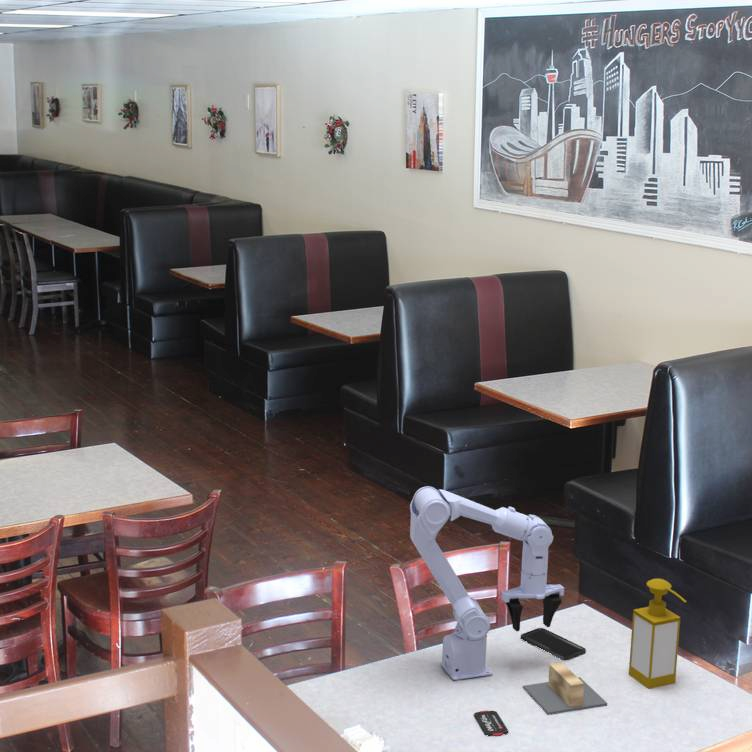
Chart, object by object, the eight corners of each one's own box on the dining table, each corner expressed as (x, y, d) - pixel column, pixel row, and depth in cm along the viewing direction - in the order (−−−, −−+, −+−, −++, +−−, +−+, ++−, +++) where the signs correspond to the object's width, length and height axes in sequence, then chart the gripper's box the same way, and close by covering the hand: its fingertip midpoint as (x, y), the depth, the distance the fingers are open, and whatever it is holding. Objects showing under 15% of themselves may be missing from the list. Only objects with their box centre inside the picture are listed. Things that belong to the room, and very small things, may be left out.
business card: (510, 733, 220) (486, 735, 219) (509, 736, 220) (486, 738, 219) (495, 709, 229) (472, 712, 228) (495, 712, 229) (472, 714, 228)
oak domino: (548, 685, 240) (549, 664, 239) (560, 683, 241) (561, 662, 240) (570, 707, 231) (571, 685, 230) (582, 705, 232) (584, 683, 230)
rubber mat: (547, 714, 228) (548, 712, 228) (522, 687, 240) (522, 685, 239) (607, 705, 233) (607, 703, 233) (579, 679, 244) (579, 677, 244)
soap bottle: (664, 700, 235) (673, 597, 230) (628, 674, 247) (635, 576, 242) (691, 694, 238) (700, 592, 233) (654, 668, 249) (662, 571, 245)
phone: (541, 627, 268) (587, 649, 257) (541, 631, 268) (587, 653, 257) (518, 635, 263) (564, 658, 252) (518, 639, 264) (564, 663, 252)
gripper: (512, 581, 239) (509, 638, 242) (571, 574, 243) (568, 630, 246) (498, 569, 245) (496, 625, 248) (557, 562, 250) (553, 618, 253)
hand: (531, 627), depth 248 cm, fingers open, 7 cm apart
